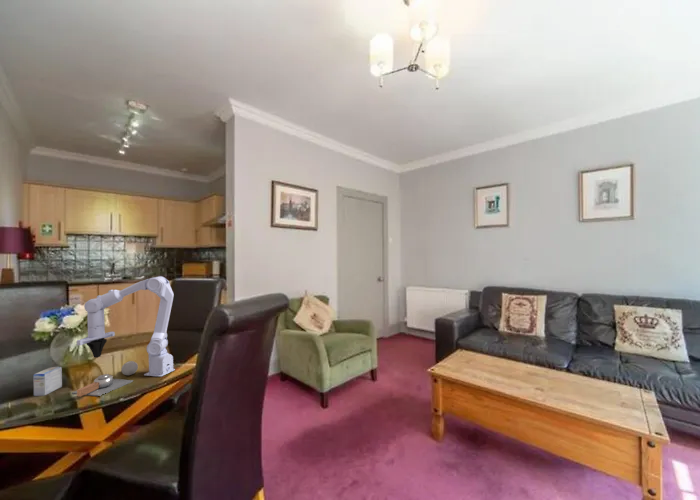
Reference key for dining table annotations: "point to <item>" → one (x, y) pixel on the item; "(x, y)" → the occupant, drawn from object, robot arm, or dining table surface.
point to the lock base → (108, 387)
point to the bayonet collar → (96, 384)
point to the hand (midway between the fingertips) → (97, 357)
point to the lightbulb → (129, 368)
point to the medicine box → (47, 381)
